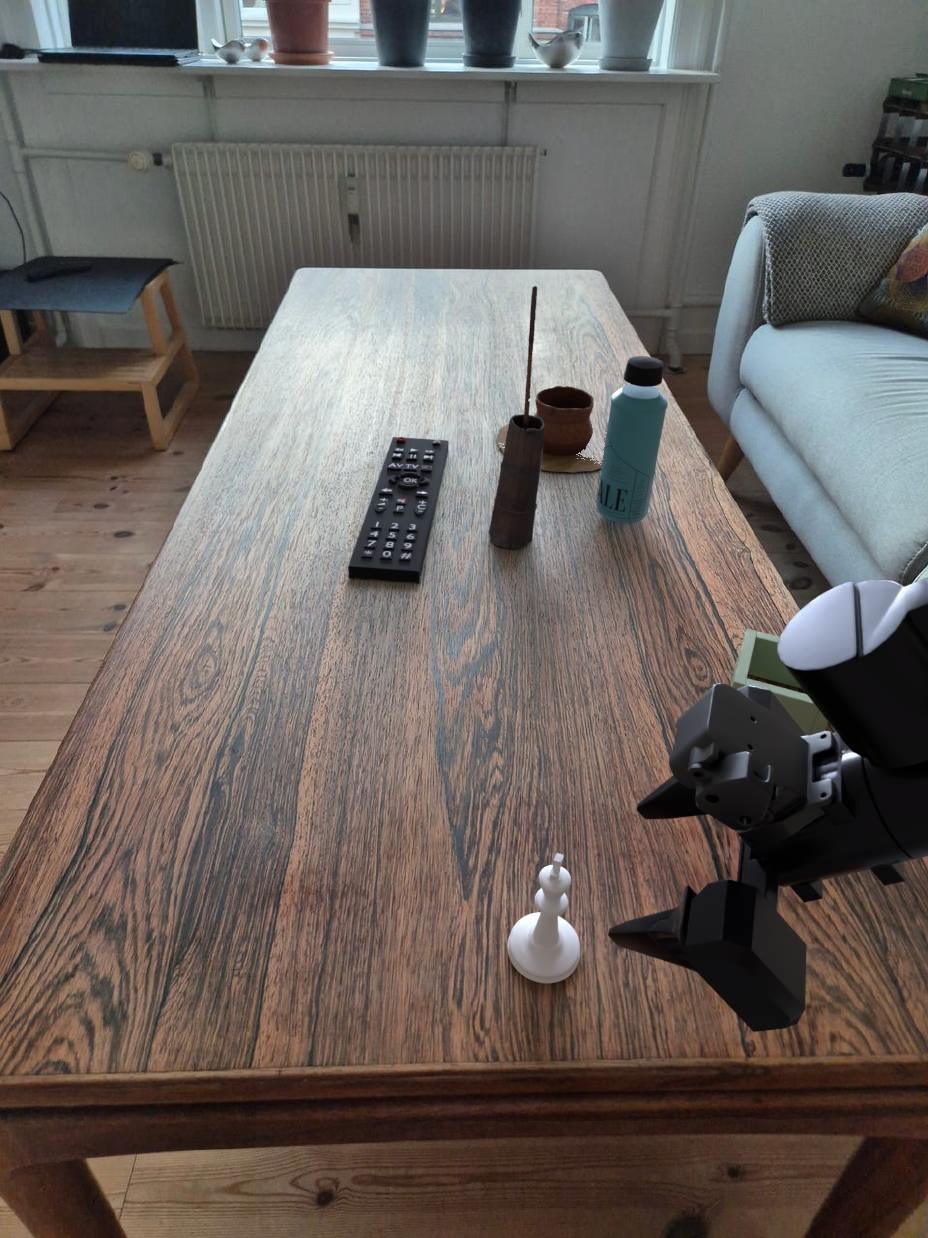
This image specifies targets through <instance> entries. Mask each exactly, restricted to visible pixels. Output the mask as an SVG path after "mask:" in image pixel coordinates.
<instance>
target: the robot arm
mask: <svg viewBox="0 0 928 1238" xmlns="http://www.w3.org/2000/svg"><path fill="white" fill-rule="evenodd" d="M779 637H780V639H779V642H778V646H777V652H778V655H779V658H780V660H781V661H782V663H783V664H784V665H785V667H786V668H787V669H788V671H789V672H790V673H791V674H792V676H793V677H794V678H795V680H796V681H797V682H798V683H799V685H800V686H801V687H802V690H803V691H804V694H807V695H808V696H809V698H810V699H811V700H812V702H813V703H814V704H815V705H816V707H817V708H818V709H819V711H820V712H821V713H822V714H823V716H824V717H825V718H826V720H827V721H828V724H829V725H830V726H831V727H832V729H833V730H834V732H831V731H830V730H824V731H823V732H820V733H817V734H814V735H809V736H806V734H805V733H804V732H803V731H802V729H801V728H800V727H799V726H798V724H797V723H796V722H795V721H794V719H793V718H792V717H791V715H790V714H789V713H788V712H787V710H786V709H785V708H784V707H783V705H782V704H781V703H780V701H779V700H778V699H777V698H776V696H775V695H774V694H773V693H772V691H771V690H767V689H763V688H759V687H755V686H750V685H747V686H745V687H742V688H739V689H737V690H736V689H735V688H733V687H732V686H730V685H731V684H728V683H725V682H717V683H715V684H714V685H712V687H711V688H710V689H708V690H707V691H706V692H705V693H703V695H702V696H700V698H699V699H697V700H696V701H695V702H694V703H693V704H692V705H690V706H689V708H687V709H686V710H685V711H684V712H683V713H682V714H681V715H679V717H678V718H677V720H676V722H675V728H676V731H675V737H674V743H673V747H672V750H671V752H670V754H669V758H668V767H669V770H670V772H671V774H672V775H671V776H670V777H669V778H668V779H667V780H665V781H664V782H663V783H662V784H660V785H659V786H658V787H656V788H655V789H654V790H653V791H652V792H650V793H649V794H648V795H646V796H645V797H644V798H643V799H641V800H640V801H639V802H638V803H637V805H636V808H635V809H636V812H637V813H638V814H639V815H640V816H641V817H642V818H643V819H644V820H673V819H681V818H682V819H683V818H691V817H699V816H700V817H701V816H710V817H712V818H713V819H715V820H717V821H718V822H720V823H721V824H723V825H724V826H726V827H728V828H729V829H731V830H733V831H737V835H738V836H739V837H740V842H739V855H738V864H737V876H736V880H735V879H731V878H724V879H720V880H716V881H711V882H708V883H706V885H704V887H703V888H702V889H701V890H700V891H699V892H698V893H697V892H696V891H695V890H694V889H693V888H692V887H691V885H689V884H687V885H686V886H685V887H684V889H683V892H682V895H681V898H680V901H679V904H678V905H677V906H676V907H674V908H670V909H666V910H663V911H659V912H656V913H651V914H648V915H643V916H640V917H637V918H633V919H630V920H625V921H624V922H621V923H619V924H616V925H614V926H612V927H610V928H609V929H608V933H607V936H608V938H609V939H610V940H611V941H612V942H613V943H614V944H615V945H616V946H618V947H620V948H622V949H626V950H629V951H632V952H635V953H638V954H641V955H644V956H647V957H651V958H654V959H656V960H660V961H663V962H666V963H669V964H672V965H675V966H678V967H681V968H684V969H687V970H690V971H692V972H694V973H697V974H698V976H700V977H701V978H702V979H703V980H704V982H705V983H706V984H707V985H709V987H710V988H711V989H712V990H713V991H714V992H715V993H716V994H717V995H718V997H720V999H722V1001H724V1002H725V1004H727V1006H728V1008H730V1009H731V1010H732V1011H733V1012H734V1013H735V1015H737V1016H738V1017H739V1019H741V1020H742V1022H744V1024H745V1025H746V1027H748V1028H749V1029H750V1030H751V1031H752V1033H757V1032H767V1031H776V1030H785V1029H788V1028H791V1027H793V1026H795V1025H798V1023H799V1021H800V1020H801V1018H802V1016H803V1015H804V1012H805V1011H806V1001H807V999H806V996H807V994H806V991H807V943H806V942H805V941H804V940H803V939H802V937H801V936H799V934H798V933H797V931H795V929H794V928H793V927H792V926H791V925H790V924H789V923H788V921H786V919H785V918H784V917H783V916H782V914H781V913H780V912H779V909H780V891H781V890H780V888H788V887H789V888H790V889H791V890H792V891H793V892H794V893H795V894H796V896H797V897H798V898H799V899H800V900H801V902H803V903H804V904H806V903H811V902H814V901H820V900H823V888H824V887H823V884H824V883H823V882H824V881H825V880H830V879H834V878H839V877H844V876H848V875H851V874H857V873H862V872H866V871H871V872H872V873H873V874H874V875H875V877H876V878H877V880H878V881H879V882H880V884H882V885H883V886H884V887H885V886H890V885H896V884H901V883H904V882H905V883H906V876H905V875H906V874H905V865H904V864H905V863H906V862H909V861H914V860H918V859H923V858H927V857H928V576H927V577H924V578H922V579H920V580H918V581H915V582H912V583H910V584H908V585H906V586H903V584H900V583H898V582H896V581H894V580H889V579H869V580H864V581H860V582H856V583H855V582H853V581H851V580H850V581H846V582H844V583H841V584H839V585H836V586H834V587H833V588H831V589H829V590H827V591H825V592H823V593H821V594H819V595H817V597H815V598H814V599H812V600H810V602H808V603H807V604H806V605H804V606H803V607H802V608H801V609H800V610H799V611H798V612H797V613H796V614H794V616H793V617H792V618H791V619H790V621H789V622H788V623H786V625H785V627H784V628H783V631H782V632H781V633H780V636H779Z"/></svg>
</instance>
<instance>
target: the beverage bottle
mask: <svg viewBox="0 0 928 1238" xmlns="http://www.w3.org/2000/svg"><path fill="white" fill-rule="evenodd" d="M663 374H664V363H663V361H662V360H660V359H658V358H656V357H652V356H648V355H647V356H646V355H636V356H631V357H630V358H628V359H627V361H626V365H625V370H624V373H623V380H624V381H625V382H626V383H628V384H625V385H624V386H622V387H621V388H619V389H617V391H615V392H614V393H613V394H612V395H611V397H610V406H609V407H610V408H609V414H608V422H606V426H605V429H606V430H607V431H606V430H605V431H606V432H607V434H605V435H606V438H604V440H605V439H606V440H605V441H604V442H605V447H604V449H603V450H604V455H603V460H602V461H603V462H602V461H601V462H602V463H601V465H602V466H600V467H602V468H601V469H600V472H599V474H598V478H599V479H598V482H597V485H598V487H597V488H596V493H597V494H596V496H595V497H596V500H595V503H596V504H595V506H596V509H597V513H598V514H599V515H600V516H601V517H603V518H604V519H606V520H608V521H610V522H613V523H619V524H634V523H638V522H641V521H643V520H644V519H645V518H646V517H647V515H648V512H649V509H650V507H651V506H650V504H651V502H652V496H653V493H652V492H653V489H654V486H655V485H654V482H655V480H656V479H655V476H656V474H657V472H656V471H657V469H658V467H657V462H658V454H659V450H660V445H661V440H662V433H663V428H664V423H665V417H666V412H667V409H668V405H669V404H668V400H667V398H666V397H665V395H663V393H662V392H661V391H660V390H659V389H658V388H656V387H657V386H660V385H661V384H662V382H663V378H664V375H663Z"/></svg>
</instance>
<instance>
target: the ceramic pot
mask: <svg viewBox="0 0 928 1238" xmlns="http://www.w3.org/2000/svg"><path fill="white" fill-rule="evenodd" d="M594 401H595V399H594V397H593V395H591V394H590V393H589V392H588V391H586V390H583V389H581V388H577V387H574V386H569V385H566V386H562V385H555V386H553V387H548V388H545V389H542V390H540V391H539V392H537V394H536V396H535V407H536V411H535V413H534V414H533V416H537V417H541V418H542V419H543V421H544V424H545V426H544V427H545V433H544V444H543V453H542V461H541V471H548V472H551V473H553V472H557V473H563V472H564V473H573V474H576V473H578V472H593V471H596V470H599V469H600V470H601V469H602V467H600V466H602V465H600V464H601V463H600V464H598V463H595V462H596V461H597V460H596V461H593V460H591V461H590V459H592V458H589V457H588V458H586V457H583V456H582V455H580V454H578V453H579V452H580V453H581V451H582V450H583V449H584V450H585V449H586V446H587V444H588V443H589V441H590V439H591V437H592V434H593V428H592V424H591V422H592V421H591V414H592V412H593V409H594V407H595V402H594ZM508 426H509V423H508V424H505V425H503V426H502V427H500V429H499V430H498V434H497V437H496V438H495V439H496V444H497V443H502V444H503V443H504V445H501V444H498V445H497V446H498V448H499V449H500V448H501V449H500V450H501V452H502V451H503V452H502V454H504V449H505V448H502V447H505V443H506V438H507V431H508ZM500 445H501V446H502V447H500ZM576 454H578V455H579V456H578V455H576ZM580 456H581V457H580ZM577 458H578V459H577ZM581 458H584V459H585V460H584V459H581ZM593 459H594V458H593ZM597 462H599V461H597ZM602 462H603V461H602ZM594 463H595V464H594Z"/></svg>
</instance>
